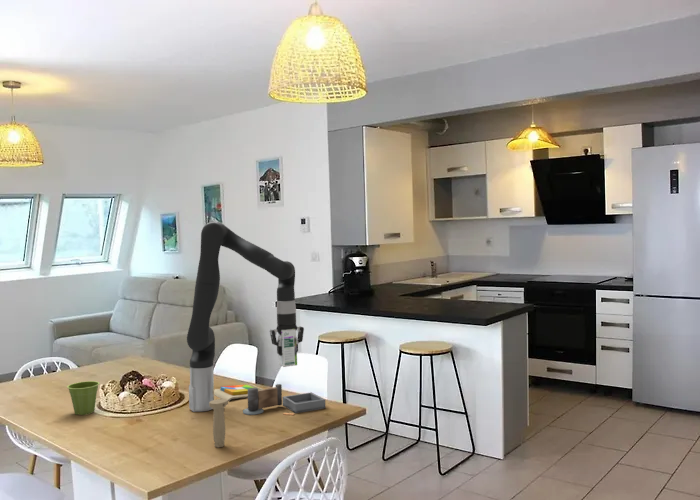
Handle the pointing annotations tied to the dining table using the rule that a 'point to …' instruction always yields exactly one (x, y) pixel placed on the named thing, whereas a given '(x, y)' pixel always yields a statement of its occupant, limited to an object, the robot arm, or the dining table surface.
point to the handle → (218, 421)
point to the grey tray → (303, 402)
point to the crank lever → (264, 397)
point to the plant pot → (83, 396)
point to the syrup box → (288, 348)
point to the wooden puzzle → (234, 391)
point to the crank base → (259, 412)
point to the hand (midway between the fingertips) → (287, 354)
